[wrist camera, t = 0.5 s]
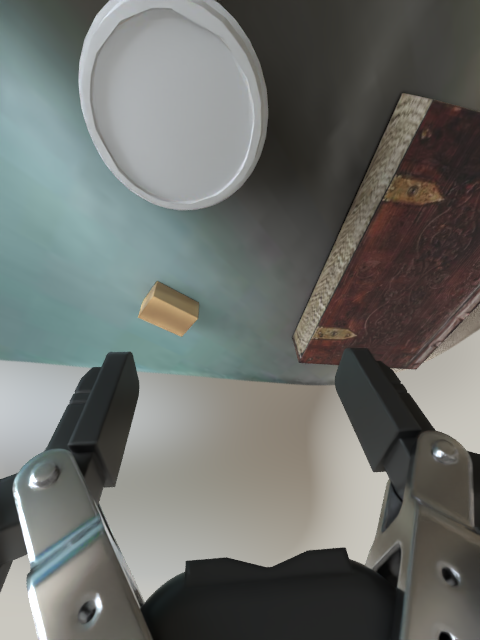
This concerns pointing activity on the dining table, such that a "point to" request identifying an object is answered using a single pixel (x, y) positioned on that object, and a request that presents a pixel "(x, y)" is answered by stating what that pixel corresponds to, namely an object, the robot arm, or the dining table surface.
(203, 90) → the disposable coffee cup
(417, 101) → the hardback book
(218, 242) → the dining table surface
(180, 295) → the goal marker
